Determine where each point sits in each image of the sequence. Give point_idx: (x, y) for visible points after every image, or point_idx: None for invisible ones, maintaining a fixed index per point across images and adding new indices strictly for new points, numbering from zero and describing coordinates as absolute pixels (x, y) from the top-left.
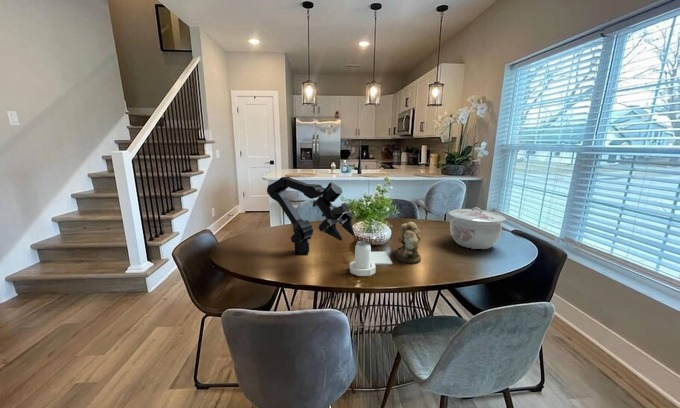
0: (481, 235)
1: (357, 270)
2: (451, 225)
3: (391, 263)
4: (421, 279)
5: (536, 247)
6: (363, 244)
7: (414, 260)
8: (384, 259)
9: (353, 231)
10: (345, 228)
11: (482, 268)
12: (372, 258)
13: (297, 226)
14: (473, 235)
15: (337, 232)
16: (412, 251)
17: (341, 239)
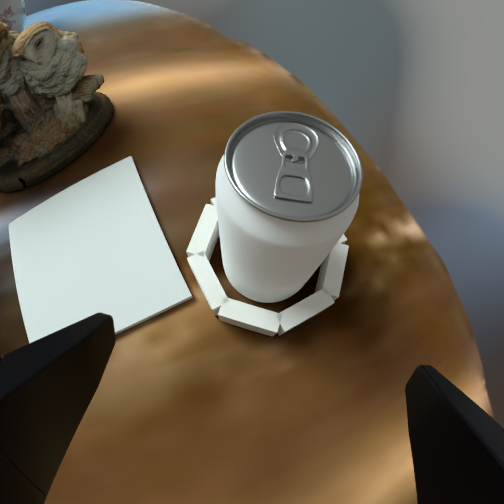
0: (20, 8)
1: (346, 252)
2: None
3: (132, 159)
4: (236, 68)
5: None
6: (308, 156)
7: (101, 95)
8: (96, 196)
9: (77, 325)
10: (47, 477)
11: (116, 16)
12: (97, 255)
13: None
14: (12, 17)
15: (498, 430)
16: (84, 77)
17: (428, 371)
